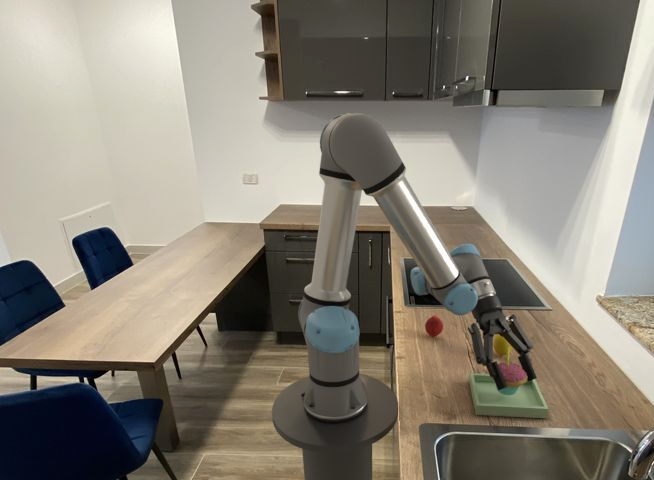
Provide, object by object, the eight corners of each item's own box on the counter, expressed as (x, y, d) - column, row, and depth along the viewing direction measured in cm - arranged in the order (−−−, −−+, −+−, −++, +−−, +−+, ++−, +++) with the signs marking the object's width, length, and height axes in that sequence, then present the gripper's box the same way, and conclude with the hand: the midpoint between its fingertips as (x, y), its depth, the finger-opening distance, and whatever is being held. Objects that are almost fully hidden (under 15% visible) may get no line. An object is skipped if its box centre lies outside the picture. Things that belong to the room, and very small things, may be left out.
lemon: (493, 359, 131) (496, 335, 128) (491, 351, 136) (494, 327, 133) (512, 360, 130) (516, 336, 127) (509, 352, 135) (512, 328, 132)
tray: (475, 414, 106) (476, 405, 105) (469, 382, 120) (470, 373, 119) (546, 418, 105) (548, 408, 104) (532, 385, 118) (533, 376, 117)
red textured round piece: (443, 340, 142) (445, 318, 139) (425, 341, 142) (427, 318, 139) (440, 332, 148) (442, 310, 144) (423, 333, 147) (424, 311, 144)
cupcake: (482, 384, 114) (487, 343, 109) (510, 378, 116) (516, 337, 112) (502, 403, 106) (508, 359, 102) (531, 396, 109) (539, 353, 104)
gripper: (454, 301, 107) (490, 391, 100) (523, 287, 115) (560, 370, 108) (441, 313, 113) (474, 398, 106) (507, 300, 121) (541, 378, 115)
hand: (517, 384), depth 107 cm, fingers closed on cupcake, 8 cm apart
